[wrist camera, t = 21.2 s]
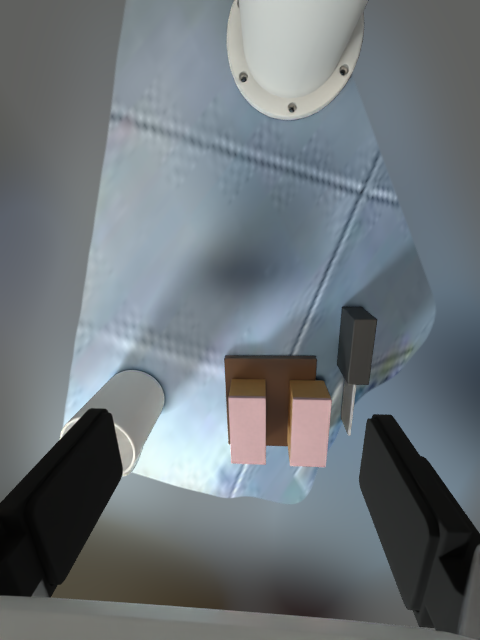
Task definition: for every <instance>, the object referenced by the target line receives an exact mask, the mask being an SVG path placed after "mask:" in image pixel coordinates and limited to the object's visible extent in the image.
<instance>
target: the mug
mask: <svg viewBox="0 0 480 640" xmlns="http://www.w3.org/2000/svg"><path fill="white" fill-rule="evenodd" d="M163 406H164V393H163V390H162V388H161V386H160V384H159V383H158V382H157V381H156V380H155V379H154V378H153V377H152V376H150V375H149V374H147V373H145V372H142V371H137V370H127V371H123V372H120V373H118V374H116V375H115V376H113V377H112V378H111V379H110V380H109V381H108V382H107V383H106V384H105V385H104V386H103V387H102V388H101V389H100V390H99V391H98V392H97V393H96V394H95V395H94V396H93V397H92V398H91V399H90V400H89V401H88V402H87V403H86V404H85V405H84V406H83V407H82V408H81V409H80V410H79V411H78V412H77V413H76V414H75V415H74V416H73V417H72V418H71V420H70V421H69V422H68V423H67V424H66V425H65V426H64V427H63V429H62V431H61V434H60V439H61V438H62V437H63V436H64V435H65V434H66V433H67V431H68V430H69V429H70V428H71V427H72V426H73V425H74V424H75V423H76V422H77V421H78V420H79V419H80V418H81V417H82V416H83V414H84V413H85V412H86V411H87V410H88V409H91V408H102V409H107V410H108V412H109V413H111V414H112V416H113V421H114V426H115V431H116V436H117V441H118V446H119V451H120V456H121V461H122V466H123V474H122V476H127V475H128V474H130V473H131V472H132V471H133V469H134V468H135V466H136V464H137V462H138V460H139V457H140V455H141V452H142V449H143V445H144V444H145V442H146V440H147V438H148V436H149V434H150V432H151V430H152V429H153V427H154V425H155V423H156V421H157V419H158V417H159V415H160V413H161V411H162V409H163Z"/></svg>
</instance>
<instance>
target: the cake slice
mask: <svg viewBox="0 0 480 640" xmlns="http://www.w3.org/2000/svg"><path fill="white" fill-rule="evenodd" d="M331 404H332V400H331V397H330V395H329V392H328V390H327V387H326V385H325V382H324V381H314V380H290V382H289V408H288V435H287V443H288V451H289V459H290V466H306V467H325V466H326V458H327V447H328V436H329V426H330V415H331Z"/></svg>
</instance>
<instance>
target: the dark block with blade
mask: <svg viewBox="0 0 480 640" xmlns="http://www.w3.org/2000/svg"><path fill="white" fill-rule="evenodd" d="M376 325H377V319H376V318H375V317H374V316H372V315H371V314H370V313H369V312H367V311H366V310H365V309H364V308H363V307H342V314H341V325H340V336H339V348H338V359H337V365H338V367H339V369H340V371H341V373H342V375H343V377H344V378H345V382H344V392H343V402H342V412H341V419H342V422H343V424H344V427H345V429H346V432H347V434H348V435H350V434H351V425H352V416H353V408H354V399H355V391H356V385H369V378H370V370H371V363H372V355H373V348H374V340H375V332H376Z"/></svg>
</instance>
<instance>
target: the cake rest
mask: <svg viewBox="0 0 480 640" xmlns="http://www.w3.org/2000/svg"><path fill="white" fill-rule="evenodd" d="M228 402H229V424H230V445H231V463H233V464H261V465H266V385H265V379H232V381H231V387H230V392H229V397H228Z"/></svg>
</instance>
